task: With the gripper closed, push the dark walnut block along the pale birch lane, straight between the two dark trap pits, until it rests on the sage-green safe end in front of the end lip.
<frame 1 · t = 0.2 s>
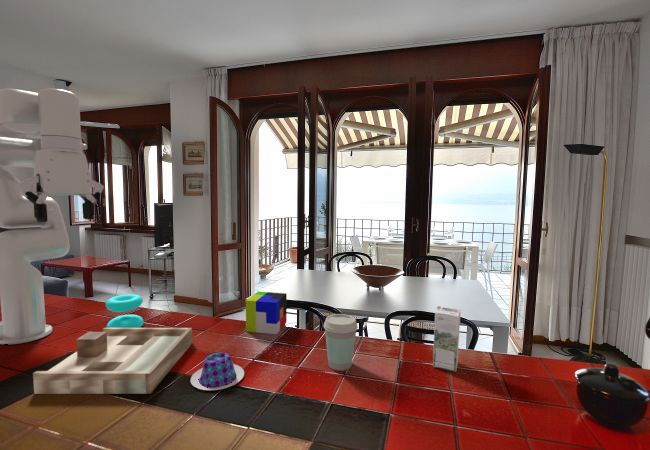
hand: (66, 220, 81), 36 cm above the kitchen counter, tool pointing down, fingers open, 9 cm apart
donuts: (125, 329, 109), on the kitchen counter
pudding: (218, 379, 81), on the kitchen counter
puzzle toy: (266, 327, 112), on the kitchen counter
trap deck: (123, 364, 86), on the kitchen counter
syrup box: (445, 365, 88), on the kitchen counter
walnut block: (92, 353, 86), point 3 cm above the kitchen counter, touching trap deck
coffee cup: (339, 365, 88), on the kitchen counter
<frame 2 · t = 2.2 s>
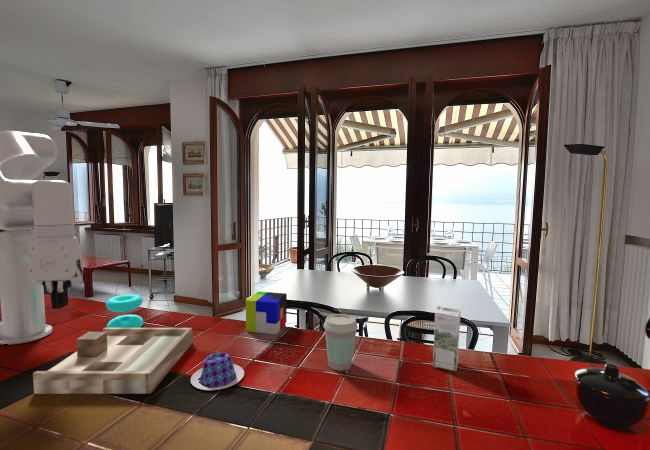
hand: (60, 307, 84), 15 cm above the kitchen counter, tool pointing down, fingers closed
nothing on the kitchen counter moved.
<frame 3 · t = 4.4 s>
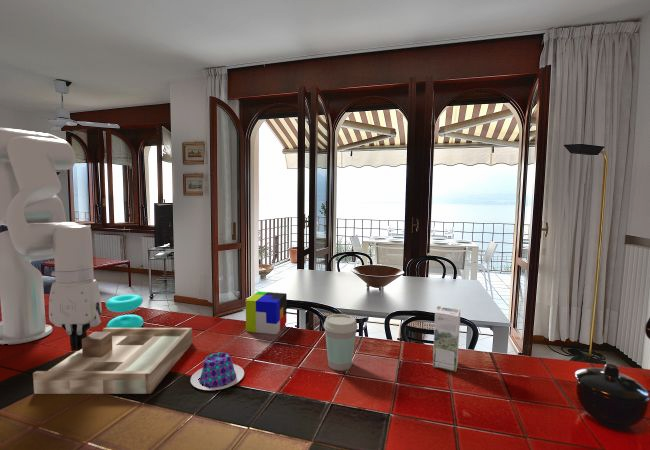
hand: (79, 348, 86), 4 cm above the kitchen counter, tool pointing down, fingers closed
walnut block: (97, 353, 86), point 3 cm above the kitchen counter, touching gripper
everything else where it was.
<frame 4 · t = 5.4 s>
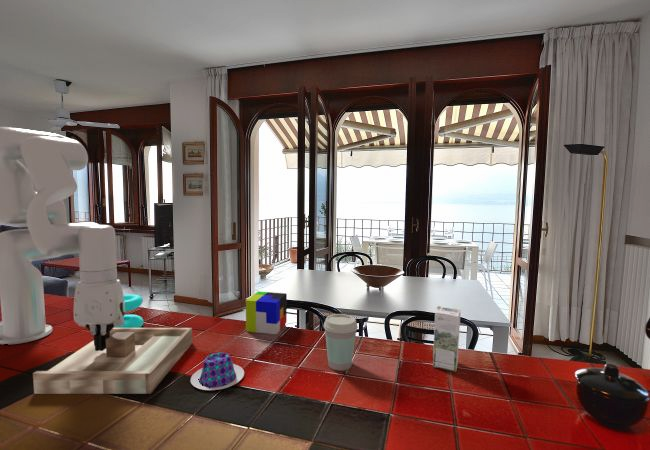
hand: (102, 348, 86), 4 cm above the kitchen counter, tool pointing down, fingers closed
walnut block: (121, 353, 86), point 3 cm above the kitchen counter, touching gripper, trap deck
everything else where it was.
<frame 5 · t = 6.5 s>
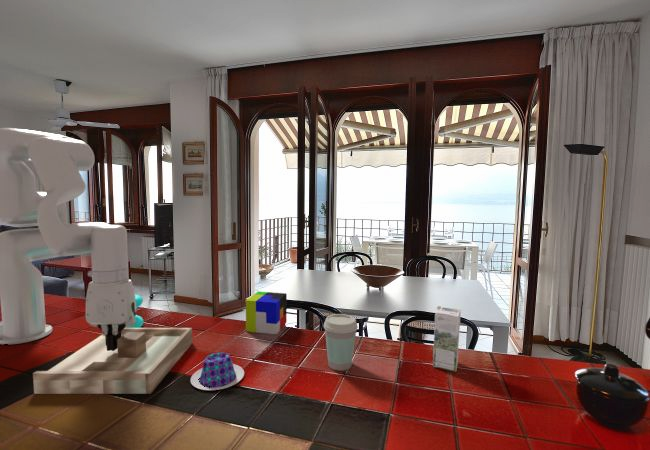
hand: (113, 348, 86), 4 cm above the kitchen counter, tool pointing down, fingers closed
walnut block: (132, 353, 86), point 3 cm above the kitchen counter, touching gripper, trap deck
everything else where it was.
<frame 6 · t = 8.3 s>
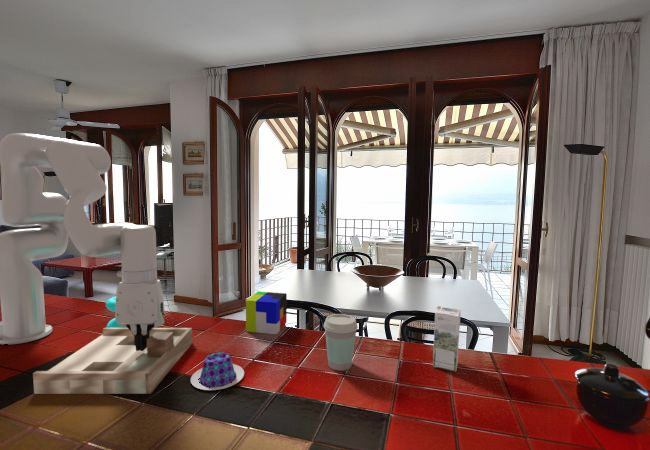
hand: (142, 348, 86), 4 cm above the kitchen counter, tool pointing down, fingers closed
walnut block: (160, 353, 86), point 3 cm above the kitchen counter, touching gripper, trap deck
everything else where it was.
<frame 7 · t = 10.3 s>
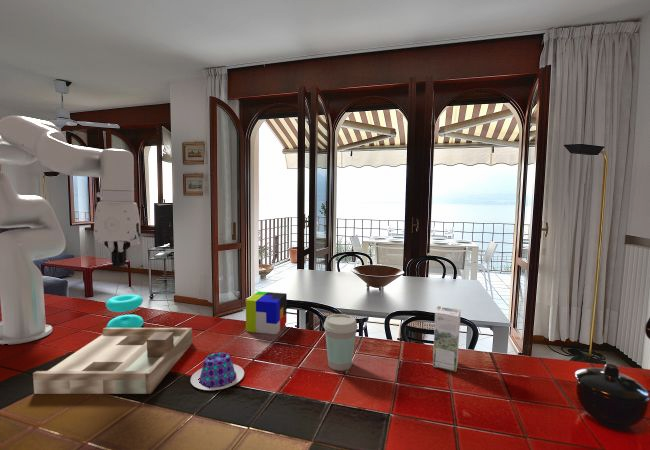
hand: (118, 265, 93), 23 cm above the kitchen counter, tool pointing down, fingers closed
walnut block: (160, 353, 86), point 3 cm above the kitchen counter, touching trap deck
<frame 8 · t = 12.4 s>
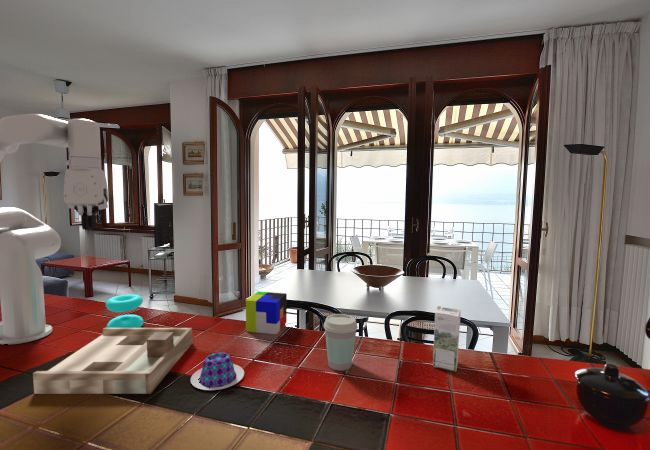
hand: (88, 228, 100), 32 cm above the kitchen counter, tool pointing down, fingers closed
at the end: walnut block inside the target area on the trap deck (1.2 cm from its centre), point 3.0 cm above the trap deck's base; walnut block tilted 0°; the gripper is holding nothing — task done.
